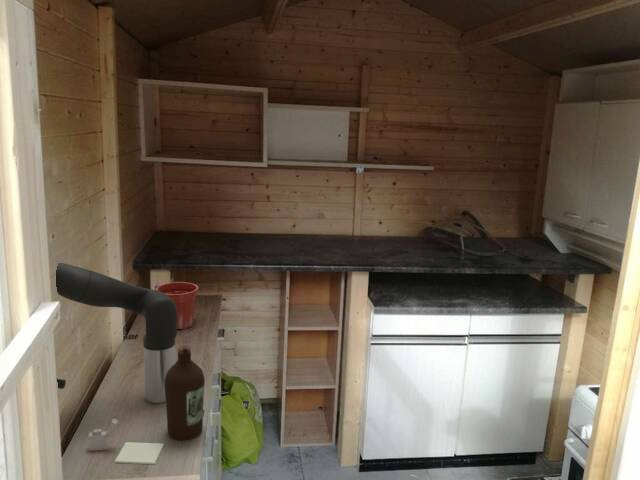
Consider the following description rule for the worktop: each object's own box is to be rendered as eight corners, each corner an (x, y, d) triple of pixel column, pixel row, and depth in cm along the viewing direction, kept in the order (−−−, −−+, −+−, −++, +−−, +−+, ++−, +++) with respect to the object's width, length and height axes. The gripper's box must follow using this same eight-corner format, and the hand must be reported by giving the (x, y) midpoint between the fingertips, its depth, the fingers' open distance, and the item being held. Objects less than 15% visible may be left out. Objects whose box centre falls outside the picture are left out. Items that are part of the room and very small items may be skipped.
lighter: (89, 450, 139) (87, 423, 137) (90, 446, 141) (88, 419, 139) (118, 448, 140) (116, 421, 139) (119, 444, 142) (117, 417, 140)
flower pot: (164, 316, 231) (164, 280, 227) (202, 318, 230) (202, 282, 226) (151, 331, 214) (150, 293, 211) (192, 333, 214) (191, 295, 210)
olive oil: (157, 434, 147) (155, 349, 142) (183, 416, 157) (183, 336, 151) (186, 446, 143) (185, 359, 137) (212, 427, 152) (212, 345, 146)
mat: (126, 443, 143) (125, 442, 142) (163, 445, 143) (163, 443, 143) (114, 462, 135) (114, 461, 135) (154, 464, 135) (154, 462, 135)
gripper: (-22, 378, 125) (51, 390, 128) (6, 355, 139) (71, 366, 142) (-26, 408, 126) (46, 419, 129) (1, 382, 140) (66, 393, 143)
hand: (59, 391), depth 135 cm, fingers open, 8 cm apart
